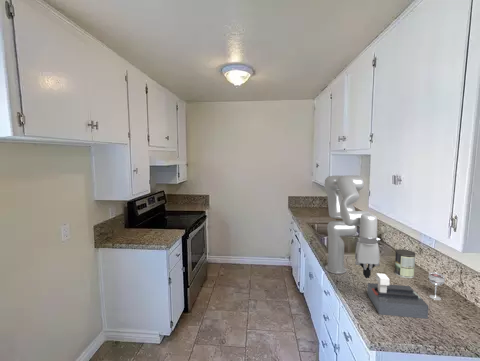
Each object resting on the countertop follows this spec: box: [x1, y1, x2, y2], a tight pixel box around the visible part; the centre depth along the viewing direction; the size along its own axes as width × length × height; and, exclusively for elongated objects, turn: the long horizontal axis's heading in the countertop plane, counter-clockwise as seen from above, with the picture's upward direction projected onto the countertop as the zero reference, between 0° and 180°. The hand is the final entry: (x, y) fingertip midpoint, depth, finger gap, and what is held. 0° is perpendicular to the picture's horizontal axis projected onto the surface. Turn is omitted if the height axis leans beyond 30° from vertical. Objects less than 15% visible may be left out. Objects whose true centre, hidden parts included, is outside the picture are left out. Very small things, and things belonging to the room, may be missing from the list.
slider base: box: [366, 282, 429, 320], centre depth 127 cm, size 18×20×7 cm
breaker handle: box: [375, 272, 391, 293], centre depth 127 cm, size 6×4×8 cm, turn 170°
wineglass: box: [427, 271, 446, 301], centre depth 133 cm, size 7×7×12 cm
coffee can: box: [394, 248, 416, 279], centre depth 159 cm, size 10×10×14 cm
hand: (366, 276), depth 128 cm, fingers closed
